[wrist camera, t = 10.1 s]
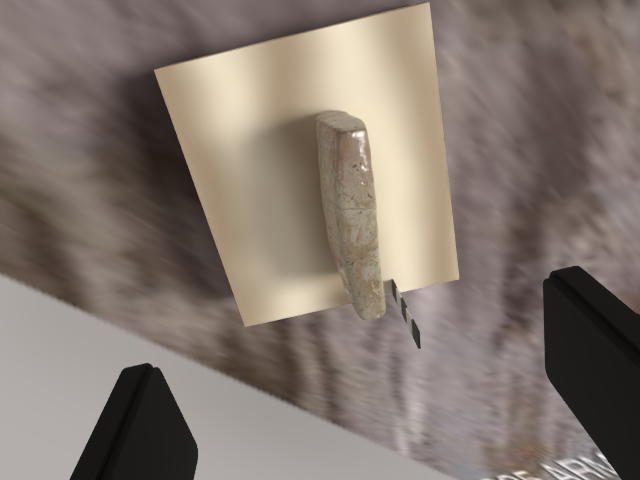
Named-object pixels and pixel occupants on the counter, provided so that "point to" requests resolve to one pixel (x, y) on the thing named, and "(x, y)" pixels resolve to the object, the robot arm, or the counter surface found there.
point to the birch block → (316, 156)
